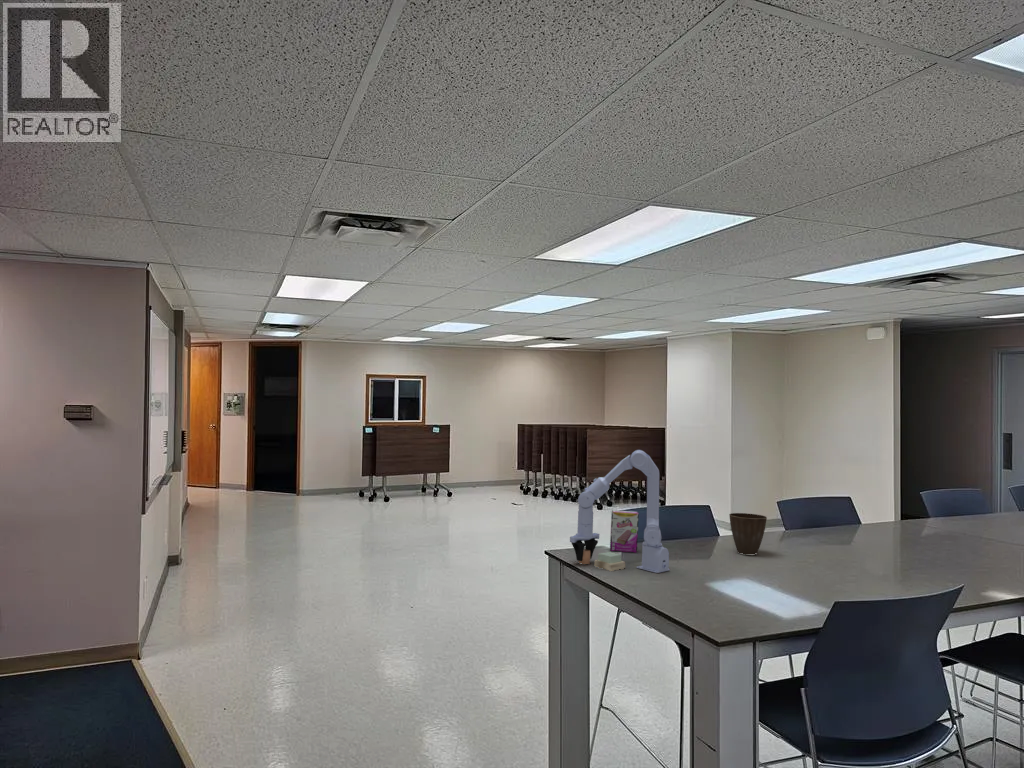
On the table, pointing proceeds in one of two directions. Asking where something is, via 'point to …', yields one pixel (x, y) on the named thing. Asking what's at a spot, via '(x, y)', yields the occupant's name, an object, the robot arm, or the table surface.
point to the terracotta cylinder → (586, 557)
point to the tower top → (609, 557)
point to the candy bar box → (624, 531)
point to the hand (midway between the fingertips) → (584, 559)
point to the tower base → (610, 565)
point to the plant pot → (747, 531)
